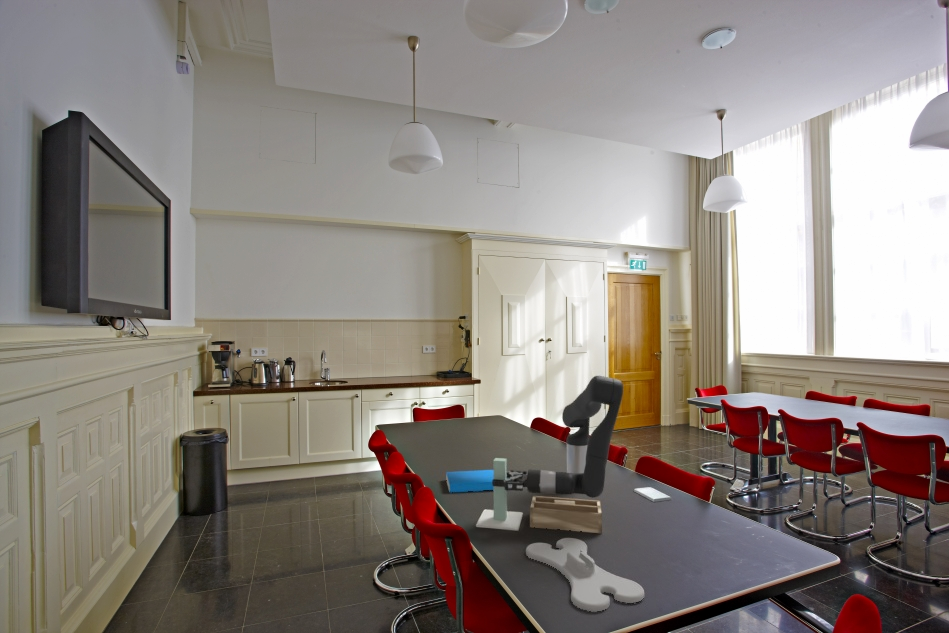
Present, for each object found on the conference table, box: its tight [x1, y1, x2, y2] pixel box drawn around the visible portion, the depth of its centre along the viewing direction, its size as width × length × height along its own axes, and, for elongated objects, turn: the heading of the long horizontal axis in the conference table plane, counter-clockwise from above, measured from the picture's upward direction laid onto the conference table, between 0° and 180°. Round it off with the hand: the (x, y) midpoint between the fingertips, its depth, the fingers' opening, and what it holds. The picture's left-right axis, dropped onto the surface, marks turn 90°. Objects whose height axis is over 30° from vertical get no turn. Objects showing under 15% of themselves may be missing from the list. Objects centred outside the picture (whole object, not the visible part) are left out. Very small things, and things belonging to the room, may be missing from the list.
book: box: [445, 469, 509, 494], centre depth 197 cm, size 17×4×25 cm
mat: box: [475, 509, 524, 531], centre depth 159 cm, size 14×14×1 cm
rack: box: [529, 495, 603, 534], centre depth 157 cm, size 12×23×6 cm, turn 78°
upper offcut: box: [554, 500, 575, 504], centre depth 160 cm, size 4×7×3 cm, turn 80°
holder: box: [525, 537, 645, 613], centre depth 125 cm, size 19×34×5 cm, turn 19°
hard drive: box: [633, 486, 673, 503], centre depth 184 cm, size 2×8×12 cm
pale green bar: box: [492, 457, 508, 521], centre depth 160 cm, size 4×4×20 cm
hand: (494, 478), depth 160 cm, fingers open, 8 cm apart
